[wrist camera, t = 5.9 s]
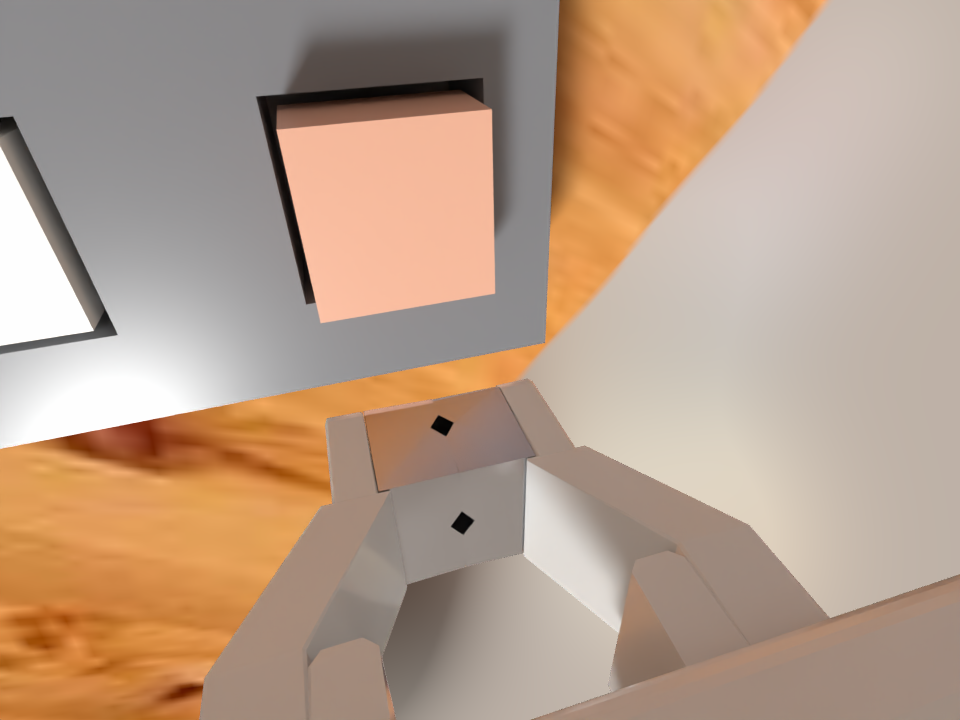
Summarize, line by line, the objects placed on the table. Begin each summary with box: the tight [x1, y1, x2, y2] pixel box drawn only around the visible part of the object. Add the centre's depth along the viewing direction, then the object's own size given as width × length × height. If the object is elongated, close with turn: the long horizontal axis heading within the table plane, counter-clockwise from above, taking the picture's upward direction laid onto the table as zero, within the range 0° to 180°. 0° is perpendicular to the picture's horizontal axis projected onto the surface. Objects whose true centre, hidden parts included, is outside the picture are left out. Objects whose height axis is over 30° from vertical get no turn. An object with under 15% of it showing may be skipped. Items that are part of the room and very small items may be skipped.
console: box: [0, 0, 559, 449], centre depth 17 cm, size 12×21×5 cm, turn 92°
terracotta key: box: [276, 90, 495, 323], centre depth 15 cm, size 5×5×3 cm
